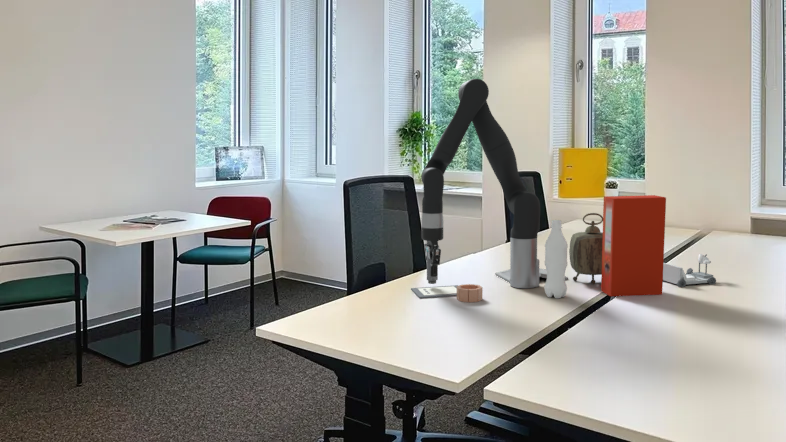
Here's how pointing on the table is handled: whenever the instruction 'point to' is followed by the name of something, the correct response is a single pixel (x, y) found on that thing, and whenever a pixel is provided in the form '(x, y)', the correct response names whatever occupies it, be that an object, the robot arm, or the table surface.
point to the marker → (430, 279)
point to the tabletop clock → (587, 250)
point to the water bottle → (556, 261)
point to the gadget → (506, 274)
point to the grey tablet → (435, 291)
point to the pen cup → (469, 293)
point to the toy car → (688, 274)
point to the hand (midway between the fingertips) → (432, 274)
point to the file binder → (633, 245)
